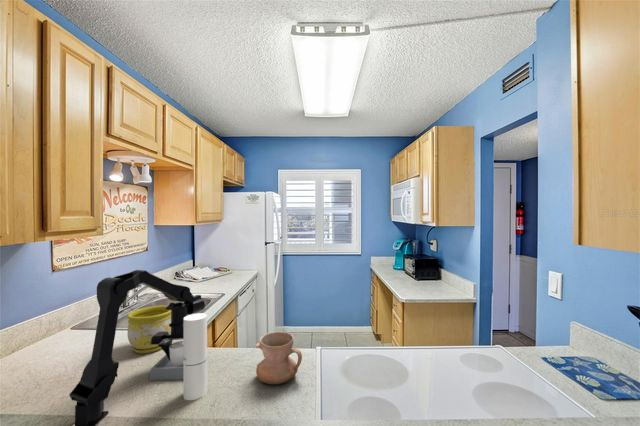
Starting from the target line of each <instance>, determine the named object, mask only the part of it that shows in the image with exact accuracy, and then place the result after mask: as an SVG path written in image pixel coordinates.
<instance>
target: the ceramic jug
mask: <svg viewBox="0 0 640 426" xmlns="http://www.w3.org/2000/svg"><path fill="white" fill-rule="evenodd" d="M293 344H294V335H293V334H292V333H289V332H287V331H272V332H267V333H265V334H264V335H262V336H260V338H259V342H257V343H256V344H255V345H254V347H255V348H256V349H258V348H259V349H260V351H262V355H263V357H264V358H263V359H262V360H261V361H259V362H258V363H257V364H256V371H255V372H256V376H257V378H258V379H259V380H260V381H261V382H262V383H264V384H267V385H280V384H284V383H287V382H289V381H290V380H292V379H293V378H294V377H295V376H296V375H297V373H298V370H299V367H300V365H301V363H302V361H303V354H302V351H301V350H300V348H299V349H298V348H296V347H295V348H293ZM295 353H296V354H297V361H295V360H294V359H293V358H292V357H290V355H292V354H295ZM296 362H297V363H296Z"/></svg>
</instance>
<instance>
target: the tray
mask: <svg viewBox="0 0 640 426" xmlns="http://www.w3.org/2000/svg"><path fill="white" fill-rule="evenodd" d="M149 372H150V377H149V379H150V381H165V380H166V381H168V380H169V381H170V380H183V365H181V366H175V367H174V366H171V362H170V360H169V359H168V357H167V355H166V354H165V355H164V356H163V357H162V358H160V359H159V360H158V362H156V363H155V364H154V365H153V366H152V367H151V368H150V371H149Z"/></svg>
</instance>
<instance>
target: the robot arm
mask: <svg viewBox="0 0 640 426" xmlns="http://www.w3.org/2000/svg"><path fill="white" fill-rule="evenodd" d="M140 285H143V286H145V287H147V288H150V289H153V290H155V291H157V292H160V293H162V294H163V295H164V297H165V298H167V299H168V300H170V301H173V302H170V303H169V304H168V305H166V306H167V307H166V310H171V323H170V324H169V327H171V334H170V335H169V333H168V332H158V333H157V334H155V335H154V336H153V337H152V338H151V345H155V344H159V345H158V346H159V347H161V348H162V349H161V350H163V353H164V354H165V355H167V357H168V359H169V360H170V352H169V346H170V345H171V344H173V342H174V340H176V341H177V340H180V341H183V340H184V317H186V316H188V315H191V314H197V313H201V312H202V311H203V310H204V309H205V306H206V303H205V300H204V299H203V298H202V295H200V294H197V295H193V293H192V292H191V288H190V287H188V286H186V285H180V284H175V283H171V282H169V281H168V280H165V279H162V278H160V277H158V276H157V275H154V274H152V273H150V272H148V271H147V270H144V269H142V270H141V269H135V270H131V271H130V272H127V273H124V274H119V275H116V276H114V277H110V276H109V277H105V278H103V279H102V280H100V281H99V282H98V284H97V285H96V299H97V303H98V306H99V313H98V317H97V318H98V319H97V325H96V331H95V337H94V342H93V347H92V352H91V358H90V360H89V361H88V363H87V364H86V365H85V367H84V368H83V371H82V374H81V378H80V380H79V382H78V383H77V384H76V385H75V387H74V388H73V389H72V391H71V392H70V393H69V398H70V399H71V401H74V402H76V405H75V407H74V422H75V426H95V425H96V424H97V423H98V422H99V421H100V420H101V419H102V420H103V419H104V418H105V417H106V416H107V415H109V410H104V409H105V408H104V402H105V400H106V399H107V398H108V397H109V394H110V391H111V389H112V386H113V385H114V383H115V381H116V378H118V370H119V365H120V363H119V361H115V360H113V359H114V358H113V357H112V356H113V350H114V343H115V338H116V334H117V333H116V332H117V331H116V330H117V326H118V325H117V324H118V321H119V314H120V308H121V307H122V305H123V304H124V302H125V301H126V299H127V296H128V293H129V291H132V290H134V289H137V288H138V287H139V286H140ZM174 301H175V302H176V303H175V302H174ZM102 420H101V421H102ZM101 421H100V422H101ZM100 422H99V423H100ZM99 423H98V424H99ZM98 424H97V425H98ZM97 425H96V426H97Z"/></svg>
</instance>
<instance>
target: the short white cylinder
mask: <svg viewBox="0 0 640 426" xmlns="http://www.w3.org/2000/svg"><path fill="white" fill-rule="evenodd" d="M169 352H170V362H171V366H174V367H175V366H181V365H183V358H184V340H180V341H176V342H172V344H171V345H170V346H169Z"/></svg>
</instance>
